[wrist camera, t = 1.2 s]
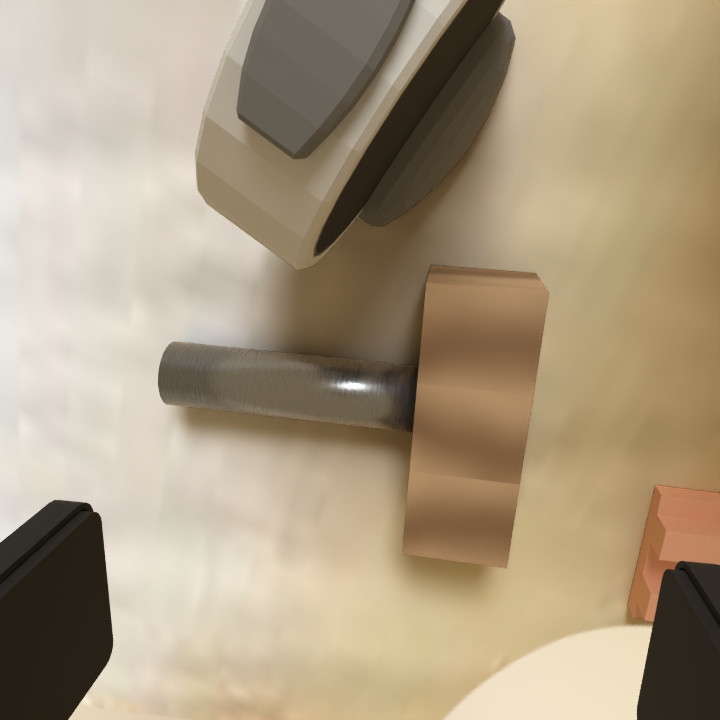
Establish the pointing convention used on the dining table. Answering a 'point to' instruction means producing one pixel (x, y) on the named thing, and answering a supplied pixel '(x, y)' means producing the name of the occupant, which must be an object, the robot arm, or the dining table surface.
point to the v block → (674, 541)
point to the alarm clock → (344, 113)
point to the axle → (289, 385)
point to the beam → (472, 412)
